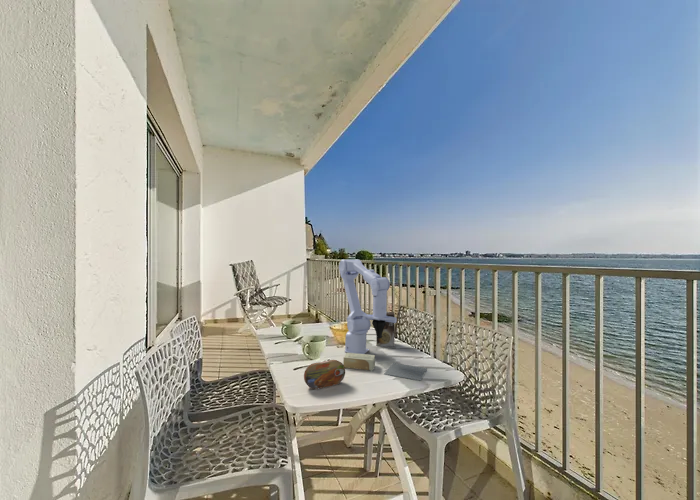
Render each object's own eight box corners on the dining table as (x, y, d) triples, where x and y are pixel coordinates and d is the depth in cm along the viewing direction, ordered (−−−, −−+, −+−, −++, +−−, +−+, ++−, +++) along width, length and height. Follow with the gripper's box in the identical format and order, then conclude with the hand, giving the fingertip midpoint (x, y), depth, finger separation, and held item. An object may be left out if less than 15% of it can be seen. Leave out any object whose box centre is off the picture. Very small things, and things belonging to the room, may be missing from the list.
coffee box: (394, 343, 163) (394, 311, 163) (394, 347, 157) (395, 314, 156) (376, 342, 164) (376, 311, 164) (375, 346, 158) (376, 313, 157)
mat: (384, 374, 122) (384, 373, 122) (393, 363, 134) (393, 362, 134) (420, 381, 117) (420, 380, 117) (426, 368, 129) (427, 368, 129)
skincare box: (375, 365, 132) (346, 362, 135) (375, 354, 132) (346, 352, 134) (372, 371, 125) (342, 368, 128) (372, 360, 125) (342, 357, 128)
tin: (305, 391, 107) (306, 366, 107) (302, 387, 110) (303, 363, 110) (345, 383, 114) (346, 359, 114) (341, 380, 117) (342, 357, 117)
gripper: (360, 305, 134) (359, 337, 135) (393, 309, 129) (393, 342, 129) (366, 303, 141) (365, 333, 141) (398, 306, 135) (397, 338, 135)
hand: (379, 337), depth 135 cm, fingers closed
